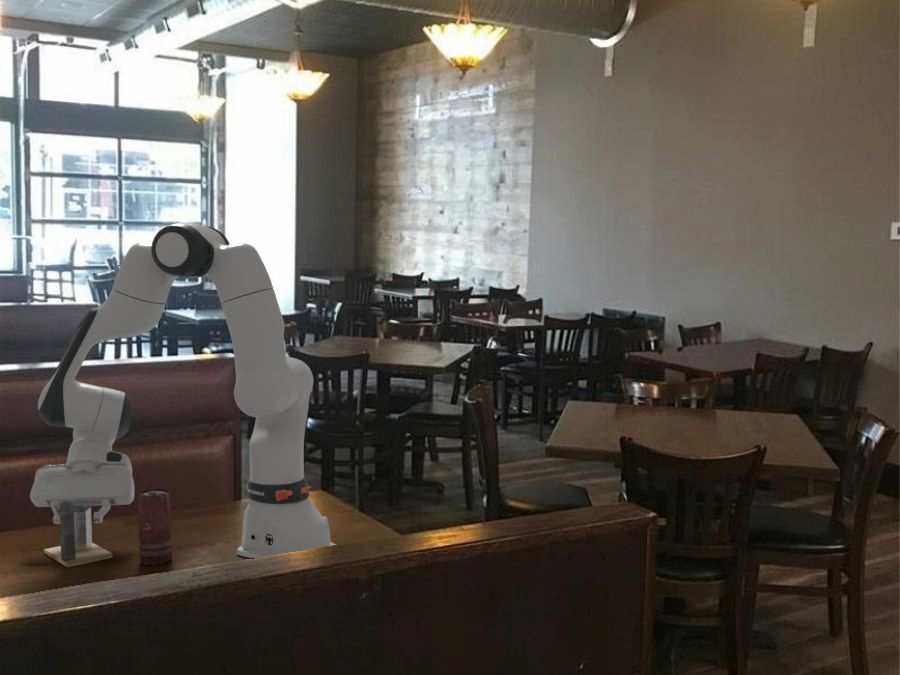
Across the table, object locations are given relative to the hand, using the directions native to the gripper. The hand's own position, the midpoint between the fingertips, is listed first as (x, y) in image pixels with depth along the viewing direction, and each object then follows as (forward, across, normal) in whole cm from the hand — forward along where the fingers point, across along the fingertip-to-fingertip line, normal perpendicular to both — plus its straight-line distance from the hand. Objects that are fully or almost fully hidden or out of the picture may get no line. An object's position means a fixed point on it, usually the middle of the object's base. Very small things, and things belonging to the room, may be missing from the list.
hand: (77, 522), depth 193 cm
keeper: (+6, 0, +3) cm, 7 cm away
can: (+9, +17, 0) cm, 19 cm away
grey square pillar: (+4, 0, +4) cm, 6 cm away
